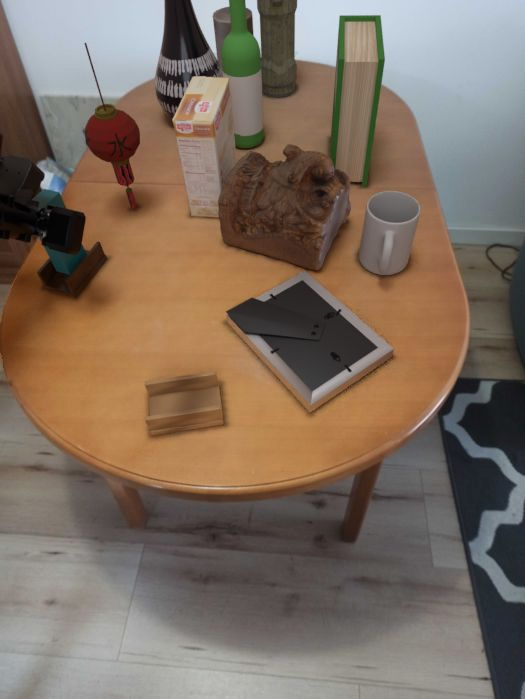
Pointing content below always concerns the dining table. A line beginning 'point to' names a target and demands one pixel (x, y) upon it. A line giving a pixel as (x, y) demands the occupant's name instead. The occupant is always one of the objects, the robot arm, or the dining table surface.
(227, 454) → the dining table surface
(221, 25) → the pillar candle
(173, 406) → the stand
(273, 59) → the thermos
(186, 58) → the vase
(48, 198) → the teal rectangular block
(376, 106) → the hardback book
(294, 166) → the sculpture
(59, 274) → the rack
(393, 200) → the mug
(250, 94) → the bottle
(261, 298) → the picture frame
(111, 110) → the lantern
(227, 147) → the coffeecake box
